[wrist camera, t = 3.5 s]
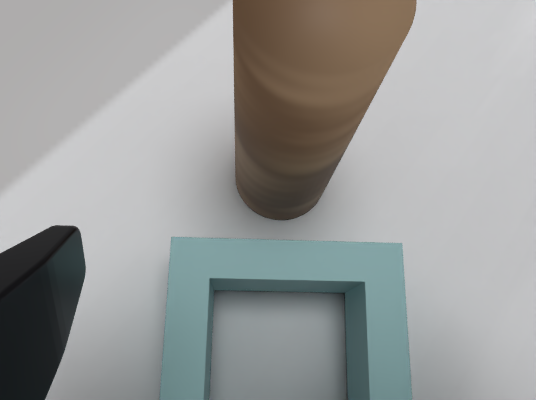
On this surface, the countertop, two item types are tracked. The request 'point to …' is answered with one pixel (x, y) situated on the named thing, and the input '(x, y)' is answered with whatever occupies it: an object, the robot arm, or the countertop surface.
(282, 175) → the dowel
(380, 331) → the teal square frame
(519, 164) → the countertop surface
